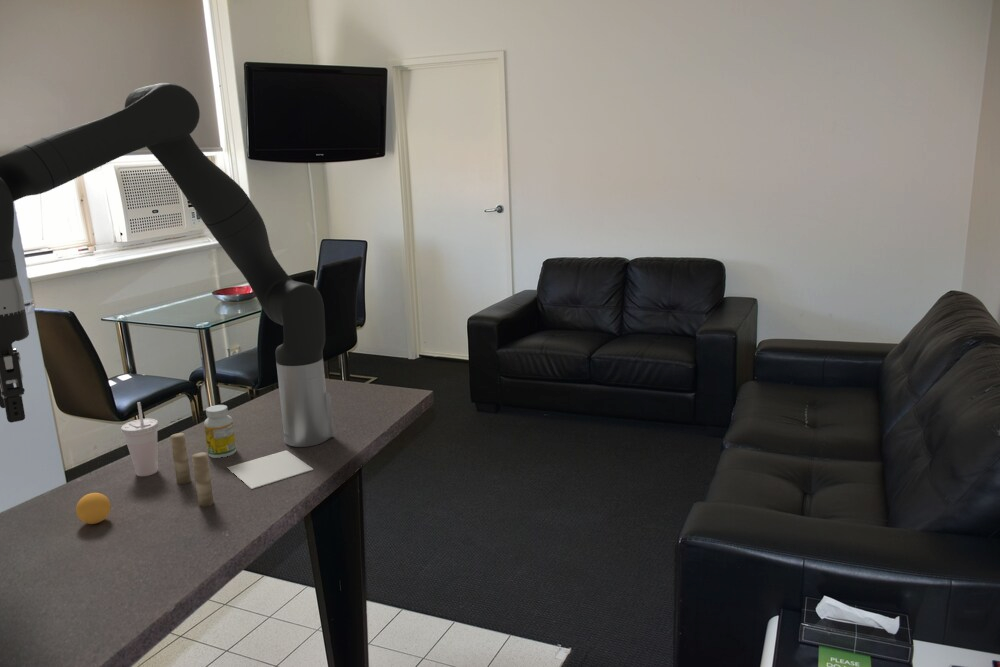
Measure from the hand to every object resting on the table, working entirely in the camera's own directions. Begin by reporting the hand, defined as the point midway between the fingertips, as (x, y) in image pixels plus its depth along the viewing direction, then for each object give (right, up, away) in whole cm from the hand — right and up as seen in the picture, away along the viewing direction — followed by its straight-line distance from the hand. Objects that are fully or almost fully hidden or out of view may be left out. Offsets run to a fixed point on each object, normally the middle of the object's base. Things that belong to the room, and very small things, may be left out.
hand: (12, 413), depth 114 cm
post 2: (+23, -17, +15) cm, 33 cm away
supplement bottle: (+18, -12, +37) cm, 43 cm away
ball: (+7, -17, +9) cm, 20 cm away
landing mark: (+30, -14, +28) cm, 44 cm away
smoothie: (+7, -14, +29) cm, 33 cm away
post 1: (+16, -15, +24) cm, 33 cm away
